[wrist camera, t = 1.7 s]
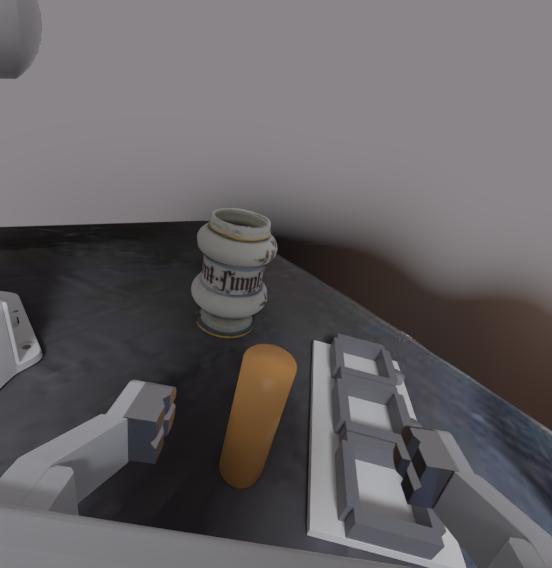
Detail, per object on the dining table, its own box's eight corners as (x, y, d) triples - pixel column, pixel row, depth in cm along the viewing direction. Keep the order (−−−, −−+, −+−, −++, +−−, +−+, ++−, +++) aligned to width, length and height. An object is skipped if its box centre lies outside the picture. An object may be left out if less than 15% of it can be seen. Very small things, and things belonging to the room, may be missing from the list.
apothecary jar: (182, 301, 54) (192, 199, 46) (247, 298, 59) (266, 207, 51) (195, 347, 45) (211, 229, 36) (271, 339, 50) (299, 235, 42)
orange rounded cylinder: (212, 454, 31) (233, 350, 25) (249, 438, 34) (278, 339, 27) (230, 497, 28) (260, 390, 22) (270, 475, 31) (307, 374, 24)
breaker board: (461, 576, 27) (482, 558, 25) (306, 534, 27) (317, 514, 26) (394, 366, 51) (403, 350, 49) (312, 344, 51) (318, 328, 49)
